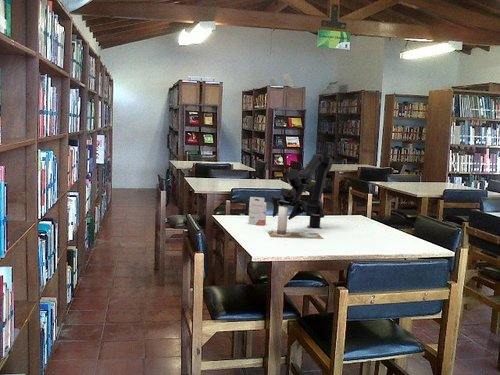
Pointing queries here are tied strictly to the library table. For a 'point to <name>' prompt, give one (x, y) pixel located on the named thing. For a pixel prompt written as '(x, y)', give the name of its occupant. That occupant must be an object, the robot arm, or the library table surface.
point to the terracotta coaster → (281, 235)
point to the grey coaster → (308, 235)
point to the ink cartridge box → (257, 211)
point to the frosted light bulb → (282, 220)
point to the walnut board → (295, 235)
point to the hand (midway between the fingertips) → (280, 217)
